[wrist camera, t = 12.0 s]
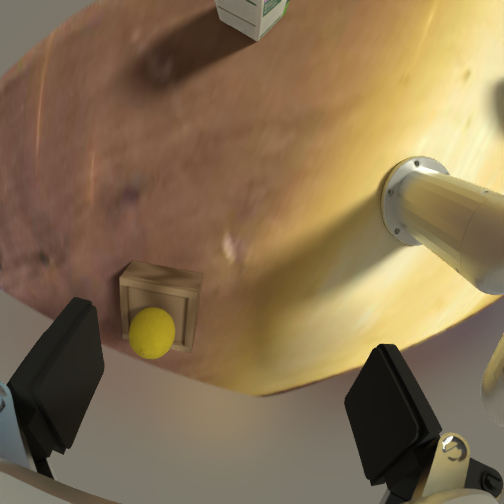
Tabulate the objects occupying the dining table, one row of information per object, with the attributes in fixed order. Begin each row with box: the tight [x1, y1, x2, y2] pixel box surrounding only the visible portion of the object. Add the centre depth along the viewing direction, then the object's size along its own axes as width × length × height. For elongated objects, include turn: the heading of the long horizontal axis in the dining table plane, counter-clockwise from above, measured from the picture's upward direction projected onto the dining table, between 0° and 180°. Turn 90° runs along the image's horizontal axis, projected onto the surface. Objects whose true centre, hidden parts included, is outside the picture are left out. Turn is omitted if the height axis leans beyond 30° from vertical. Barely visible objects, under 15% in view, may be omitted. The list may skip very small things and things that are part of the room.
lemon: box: [129, 307, 175, 359], centre depth 33 cm, size 6×6×8 cm
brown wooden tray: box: [119, 261, 203, 353], centre depth 38 cm, size 10×10×5 cm
